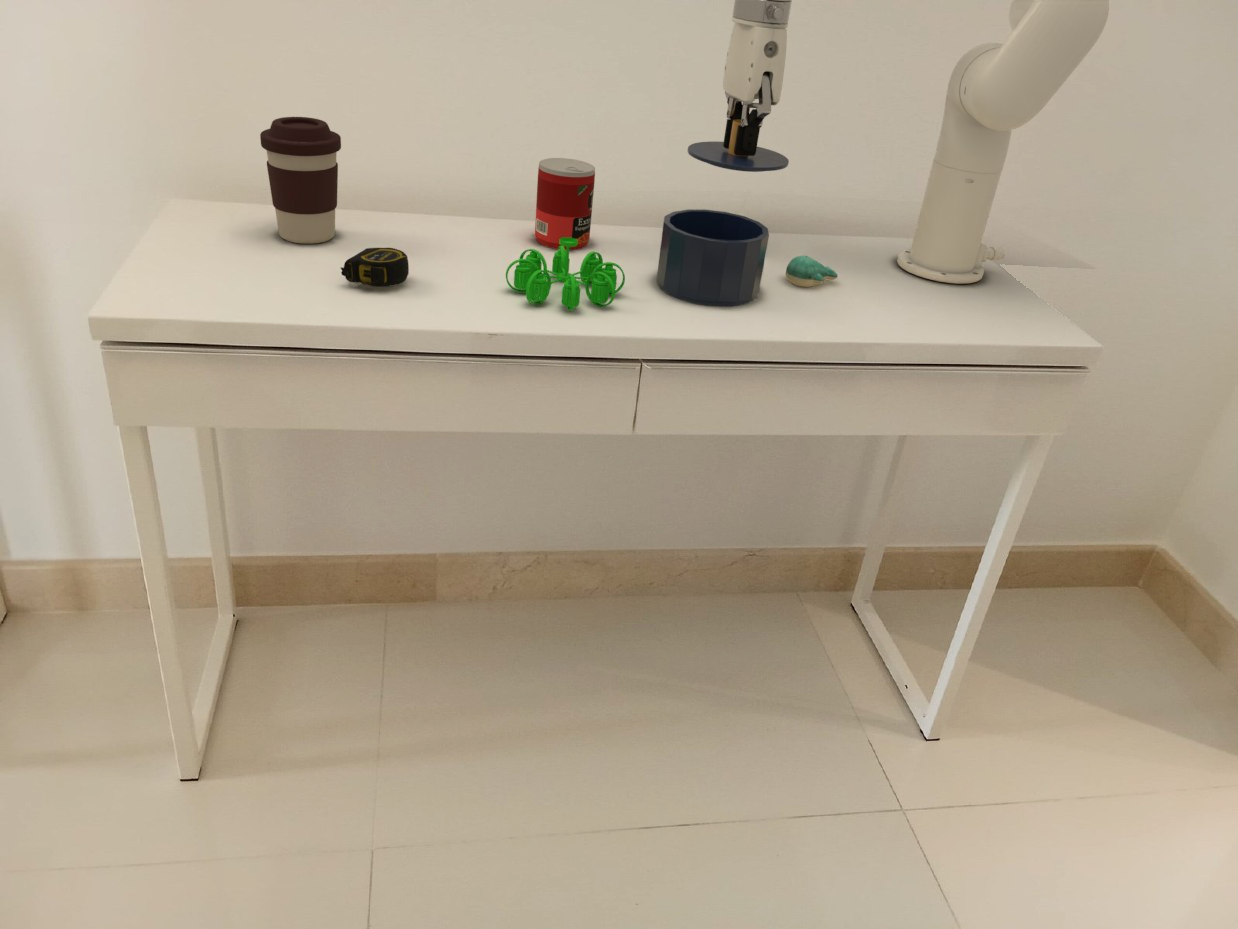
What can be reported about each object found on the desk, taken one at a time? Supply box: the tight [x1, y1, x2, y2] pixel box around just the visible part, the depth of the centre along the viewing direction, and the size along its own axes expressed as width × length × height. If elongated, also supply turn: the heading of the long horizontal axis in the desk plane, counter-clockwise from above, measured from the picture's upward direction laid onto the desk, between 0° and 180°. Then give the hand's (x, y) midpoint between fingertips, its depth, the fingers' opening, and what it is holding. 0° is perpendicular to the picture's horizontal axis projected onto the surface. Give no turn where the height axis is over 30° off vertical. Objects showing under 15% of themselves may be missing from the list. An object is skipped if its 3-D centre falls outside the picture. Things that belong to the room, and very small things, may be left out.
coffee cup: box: [259, 116, 342, 244], centre depth 131 cm, size 10×10×15 cm
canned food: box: [534, 157, 596, 251], centre depth 140 cm, size 8×8×11 cm
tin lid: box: [687, 119, 790, 173], centre depth 141 cm, size 15×15×6 cm
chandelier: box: [505, 237, 626, 312], centre depth 124 cm, size 15×15×7 cm
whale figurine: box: [785, 254, 839, 288], centre depth 137 cm, size 6×7×4 cm
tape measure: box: [340, 247, 410, 288], centre depth 121 cm, size 7×7×4 cm
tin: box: [656, 208, 770, 308], centre depth 130 cm, size 14×14×8 cm
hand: (739, 150), depth 142 cm, fingers closed on tin lid, 3 cm apart
